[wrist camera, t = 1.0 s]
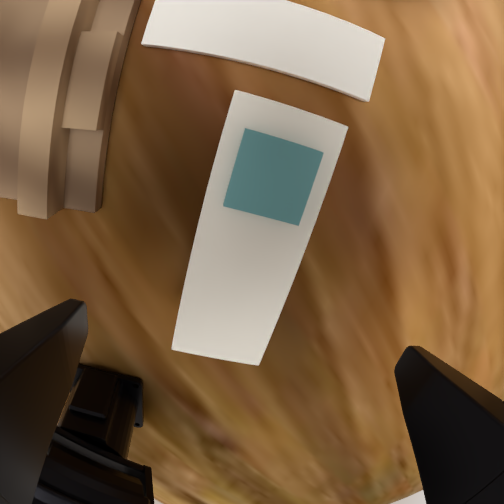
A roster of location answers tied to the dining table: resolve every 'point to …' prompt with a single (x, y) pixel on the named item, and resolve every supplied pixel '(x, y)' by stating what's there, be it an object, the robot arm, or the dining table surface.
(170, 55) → the dining table surface
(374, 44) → the strip
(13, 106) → the cradle
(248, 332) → the white box
